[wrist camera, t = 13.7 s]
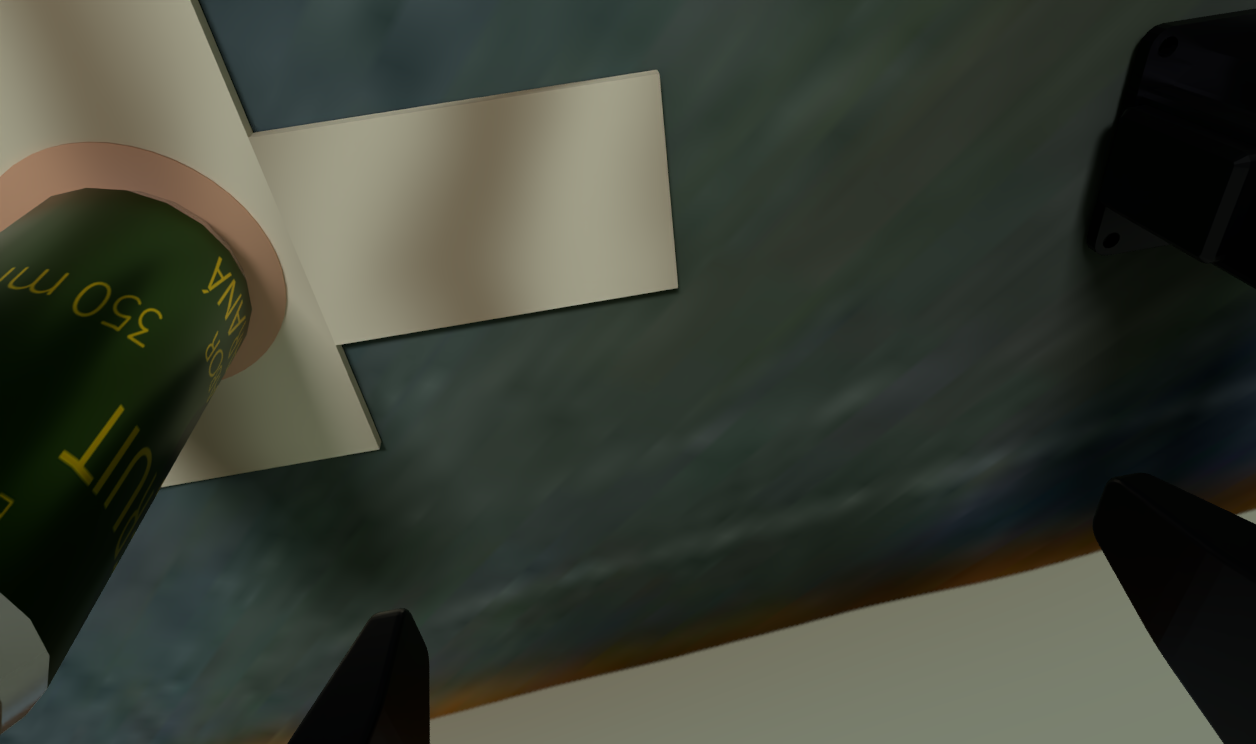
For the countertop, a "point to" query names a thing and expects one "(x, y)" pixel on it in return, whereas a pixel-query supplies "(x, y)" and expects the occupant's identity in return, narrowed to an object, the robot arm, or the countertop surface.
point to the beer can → (96, 400)
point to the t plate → (335, 205)
